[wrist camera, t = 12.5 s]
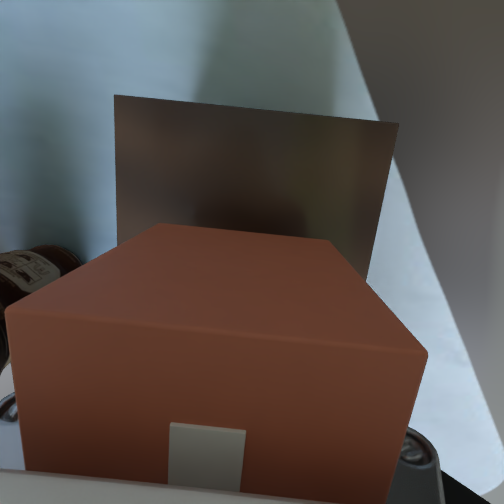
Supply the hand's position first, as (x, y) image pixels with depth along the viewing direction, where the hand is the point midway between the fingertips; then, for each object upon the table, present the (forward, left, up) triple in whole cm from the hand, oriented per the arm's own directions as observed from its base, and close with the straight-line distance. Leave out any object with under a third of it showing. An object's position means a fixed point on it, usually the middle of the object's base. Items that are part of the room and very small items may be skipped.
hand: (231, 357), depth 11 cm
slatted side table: (0, 0, -17) cm, 17 cm away
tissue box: (0, 0, -1) cm, 1 cm away
